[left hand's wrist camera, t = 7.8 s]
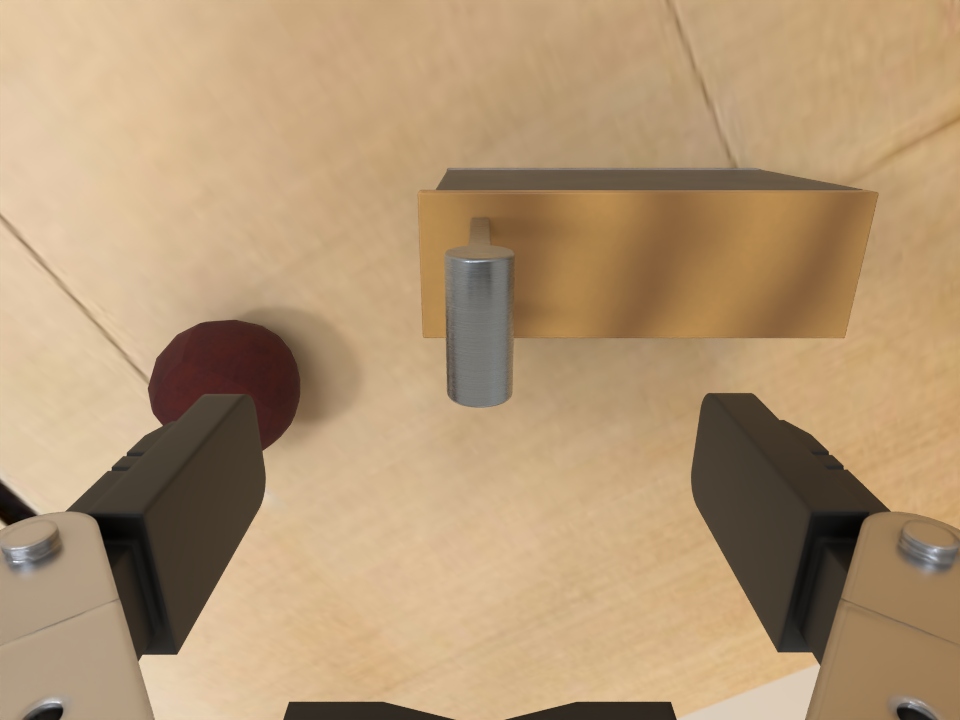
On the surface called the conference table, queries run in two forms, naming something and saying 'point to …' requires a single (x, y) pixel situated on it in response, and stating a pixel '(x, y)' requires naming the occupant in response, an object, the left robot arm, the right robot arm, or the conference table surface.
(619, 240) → the lid
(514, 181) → the chest
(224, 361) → the dark red ball
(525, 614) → the conference table surface
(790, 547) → the left robot arm
